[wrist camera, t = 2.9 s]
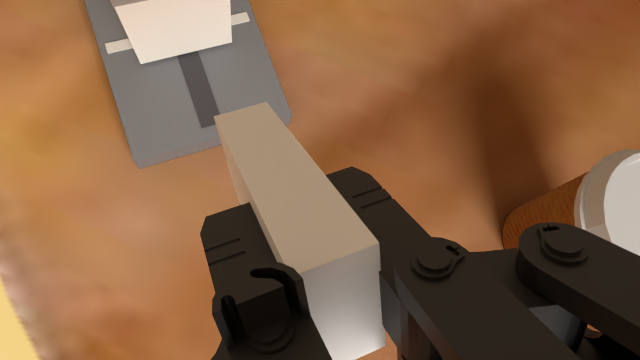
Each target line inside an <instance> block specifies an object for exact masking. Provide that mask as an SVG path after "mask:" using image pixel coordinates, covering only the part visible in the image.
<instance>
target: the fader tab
mask: <svg viewBox="0 0 640 360" xmlns="http://www.w3.org/2000/svg"><path fill="white" fill-rule="evenodd" d="M110 2H111V4H112V6H113V7H114V8H115V10H116V12H117V14H118V16H119V18H120V21H121V23H122V25H123V27H124V29H125V31H126V34H127V36H128V38H129V40H130V42H131V44H132V46H133V49H134V51H135V53H136V55H137V57H138V59H139V61H140V64H144V63H148V62H152V61H156V60H161V59H165V58H169V57H173V56H177V55H181V54H186V53H190V52H194V51H198V50H202V49H206V48H211V47H215V46H219V45H223V44H227V43H231V42H232V31H231V8H230V0H110Z"/></svg>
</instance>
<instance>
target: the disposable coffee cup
mask: <svg viewBox="0 0 640 360" xmlns="http://www.w3.org/2000/svg"><path fill="white" fill-rule="evenodd" d="M547 222H555V223H564V224H569V225H572V226H575V227H578V228H581V229H584V230H586V231H588V232H590V233H592V234H595V235H597V236H599V237H601V238H603V239H605V240H607V241H609V242H611V243H613V244H616V245H618V246H620V247H622V248H624V249H626V250H628V251H630V252H632V253H635V254H637V255H639V256H640V150H623V151H617V152H615V153H613V154H610V155H608V156H606V157H604V158H602V159H601V160H600V161H599V162H598V163H597V164H596V165H594V166H593V167H592V168H591V169H590V171H589V172H587V173H584V174H583V175H581V176H579V177H577V178H575V179H573V180H571V181H569V182H567V183H565V184H563V185H561V186H559V187H557V188H555V189H553V190H551V191H549V192H547V193H545V194H543V195H541V196H539V197H537V198H535V199H533V200H531V201H529V202H527V203H525V204H523V205H521V206H519V207H517V208H515V209H514V210H513V211H512V212H511V213H510V214H509V215H508V217H507V219H506V221H505V223H504V227H503V244H504V248H505V249H511V248H517V247H518V241H519V237H520V235H521V234H522V233H523V232H524V230H525V229H526V228H529V227H531V226H533V225H535V224H539V223H547Z"/></svg>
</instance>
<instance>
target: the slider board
mask: <svg viewBox="0 0 640 360" xmlns="http://www.w3.org/2000/svg"><path fill="white" fill-rule="evenodd" d="M84 1H85V4H86V8H87V11H88V14H89V17H90V21H91V24H92V27H93V30H94V34H95V37H96V40H97V43H98V47H99V50H100V53H101V56H102V60H103V63H104V66H105V69H106V72H107V76H108V79H109V82H110V85H111V89H112V92H113V95H114V98H115V102H116V105H117V108H118V111H119V115H120V118H121V121H122V124H123V128H124V131H125V134H126V137H127V141H128V144H129V147H130V150H131V153H132V157H133V160H134V162H135V163H136V164H137V165H138V167H139V168H140V169H141V168H145V167H148V166H151V165H155V164H158V163H161V162H165V161H168V160H172V159H175V158H178V157H182V156H185V155H188V154H192V153H195V152H198V151H202V150H205V149H209V148H212V147H215V146H219V145H222V143H221V140H220V137H219V133H218V130H217V126H216V123H215V119H214V116H217V115H220V114H224V113H228V112H231V111H235V110H238V109H242V108H246V107H249V106H253V105H257V104H260V103H264V102H267V103H268V104H269V106H270V107H271V108H272V109H273V111H274V112H275V113H276V114H277V116H278V117H279V118H280V119H281V121H282V122H283V123H284V124H285V126H286V125H289V124H290V120H291V117H292V114H291V112H290V109H289V106H288V104H287V101H286V98H285V96H284V93H283V90H282V88H281V85H280V83H279V80H278V77H277V75H276V72H275V69H274V67H273V64H272V61H271V59H270V56H269V54H268V51H267V48H266V46H265V43H264V40H263V38H262V35H261V32H260V30H259V27H258V24H257V22H256V19H255V17H254V14H253V11H252V9H251V6H250V3H249V1H248V0H230V8H231V31H232V42H231V43H227V44H223V45H219V46H215V47H211V48H206V49H202V50H198V51H194V52H190V53H186V54H181V55H177V56H173V57H169V58H165V59H161V60H156V61H152V62H148V63H144V64H140V61H139V59H138V57H137V55H136V53H135V51H134V49H133V46H132V44H131V42H130V40H129V38H128V36H127V34H126V31H125V29H124V27H123V25H122V23H121V21H120V18H119V16H118V14H117V12H116V10H115V8H114V7H113V6H112V4H111V2H110V0H84Z"/></svg>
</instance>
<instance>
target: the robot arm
mask: <svg viewBox="0 0 640 360" xmlns="http://www.w3.org/2000/svg"><path fill="white" fill-rule="evenodd" d="M214 119H215V123H216V126H217V130H218V133H219V137H220V140H221V143H222V147H223V150H224V154H225V157H226V160H227V164H228V167H229V171H230V174H231V178H232V181H233V184H234V188H235V191H236V195H237V198H238V200H239V202H240V206H237V207H234V208H231V209H228V210H225V211H222V212H219V213H216V214H213V215H210V216H207V217H206V218H205V221H204V224H203V227H202V230H201V233H200V235H201V239H202V243H203V247H204V251H205V255H206V258H207V262H208V266H209V270H210V274H211V278H212V281H213V285H214V289H215V295H214V297H213V300H212V315H213V317H214V320H215V322H216V325H217V327H218V329H219V332H220V334H221V337H222V341H221V343H220V345H219V347H218V350H217V352H216V353H215V355H214V356H213V357H212V359H211V360H355V359H357V358H360V357H362V356H364V355H366V354H368V353H371V352H373V351H375V350H377V349H379V348H382V347H384V346H386V339H385V329H386V331H387V332H388V334H389V336H390V337H391V339H392V340H393V342H394V343H395V345H396V346H397V356H398V360H640V256H639V255H637V254H635V253H632V252H630V251H628V250H626V249H624V248H622V247H620V246H618V245H616V244H613V243H611V242H609V241H607V240H605V239H603V238H601V237H599V236H597V235H595V234H592V233H590V232H588V231H586V230H584V229H581V228H578V227H575V226H572V225H569V224H564V223H555V222H547V223H539V224H535V225H533V226H531V227H529V228H526V229H525V230H524V232H523V233H522V234H521V235H520V237H519V241H518V247H517V248H511V249H503V250H494V251H485V252H469V251H468V250H466V249H465V248H463V247H462V246H461V245H459V244H458V243H456V242H453V241H450V240H447V239H444V238H438V237H431V236H430V235H429V234H428V233H427V232H426V231H425V230H424V229H423V228H422V227H421V226H420V225H419V224H418V223H417V222H416V221H415V220H414V219H413V218H412V217H411V216H410V215H409V214H408V213H407V212H406V211H405V210H404V209H403V208H402V207H401V206H400V205H399V204H398V203H397V202H396V201H395V200H394V199H392V198H391V195H390V194H389V193H388V192H387V191H386V190H385V189H382V186H381V185H380V184H379V183H378V182H377V181H376V180H375V179H374V178H373V177H372V176H371V175H370V174H368V173H366V172H363V171H361V170H359V169H357V168H354V167H349V168H346V169H343V170H340V171H337V172H334V173H331V174H328V175H325V174H324V173H323V172H322V171H321V169H320V168H319V167H318V166H317V164H316V163H315V162H314V161H313V159H312V158H311V157H310V156H309V154H308V153H307V152H306V151H305V149H304V148H303V147H302V146H301V144H300V143H299V142H298V141H297V139H296V138H295V137H294V136H293V134H292V133H291V132H290V131H289V129H288V128H287V127H286V126H285V124H284V123H283V122H282V121H281V119H280V118H279V117H278V116H277V114H276V113H275V112H274V111H273V109H272V108H271V107H270V106H269V104H268V103H267V102H264V103H260V104H257V105H253V106H249V107H246V108H242V109H238V110H235V111H231V112H228V113H224V114H220V115H217V116H214ZM588 324H589V325H591V326H592V327H594V328H596V329H597V330H599V331H600V332H598V331H593V330H591V329H589V328H587V325H588Z"/></svg>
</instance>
